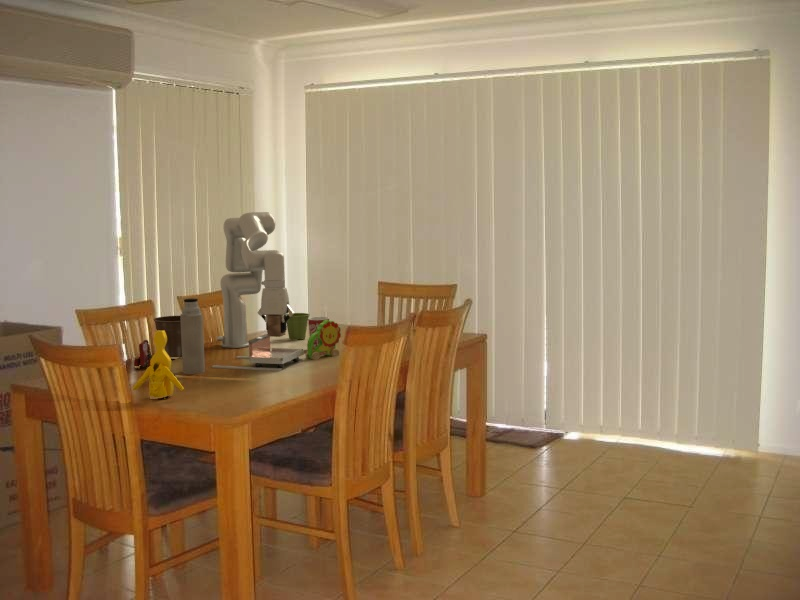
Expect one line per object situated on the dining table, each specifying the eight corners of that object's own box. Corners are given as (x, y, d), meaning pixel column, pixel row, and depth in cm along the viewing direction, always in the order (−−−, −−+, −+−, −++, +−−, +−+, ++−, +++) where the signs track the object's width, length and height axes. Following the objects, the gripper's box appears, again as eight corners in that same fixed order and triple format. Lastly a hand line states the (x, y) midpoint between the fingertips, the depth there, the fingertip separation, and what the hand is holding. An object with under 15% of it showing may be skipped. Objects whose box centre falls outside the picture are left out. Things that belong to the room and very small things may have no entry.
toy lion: (313, 362, 365) (312, 323, 363) (304, 360, 368) (303, 322, 367) (344, 356, 376) (343, 319, 374) (335, 355, 379) (334, 318, 378)
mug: (329, 351, 388) (328, 319, 386) (307, 351, 388) (306, 319, 386) (331, 346, 400) (330, 315, 399) (310, 346, 400) (309, 315, 398)
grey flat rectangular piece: (212, 370, 352) (212, 365, 351) (237, 360, 372) (237, 356, 371) (280, 373, 343) (280, 368, 343) (302, 362, 363) (302, 358, 363)
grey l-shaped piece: (246, 368, 348) (245, 340, 347) (269, 359, 367) (268, 332, 366) (282, 370, 344) (281, 342, 342) (303, 360, 363) (302, 333, 361)
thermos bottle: (190, 371, 349) (187, 297, 346) (209, 372, 347) (206, 297, 343) (178, 375, 342) (175, 299, 339) (197, 376, 339) (194, 300, 336)
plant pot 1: (203, 357, 379) (201, 318, 377) (166, 362, 369) (164, 322, 367) (185, 352, 391) (183, 314, 390) (148, 357, 381) (147, 318, 379)
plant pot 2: (309, 341, 416) (308, 315, 414) (282, 341, 416) (281, 316, 414) (312, 336, 427) (311, 312, 426) (286, 337, 427) (285, 312, 426)
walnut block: (267, 336, 352) (267, 315, 351) (273, 334, 357) (272, 313, 356) (279, 336, 350) (279, 315, 350) (285, 334, 355) (284, 313, 354)
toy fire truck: (159, 364, 365) (158, 338, 364) (151, 370, 353) (150, 343, 352) (141, 364, 365) (140, 338, 364) (133, 370, 353) (131, 343, 352)
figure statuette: (129, 400, 303) (126, 333, 300) (139, 394, 311) (136, 329, 308) (182, 400, 301) (179, 333, 298) (191, 395, 308) (188, 329, 306)
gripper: (249, 285, 350) (251, 333, 352) (291, 285, 345) (293, 334, 347) (258, 283, 357) (260, 330, 359) (299, 283, 352) (301, 331, 355)
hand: (276, 331), depth 353 cm, fingers closed on walnut block, 5 cm apart
